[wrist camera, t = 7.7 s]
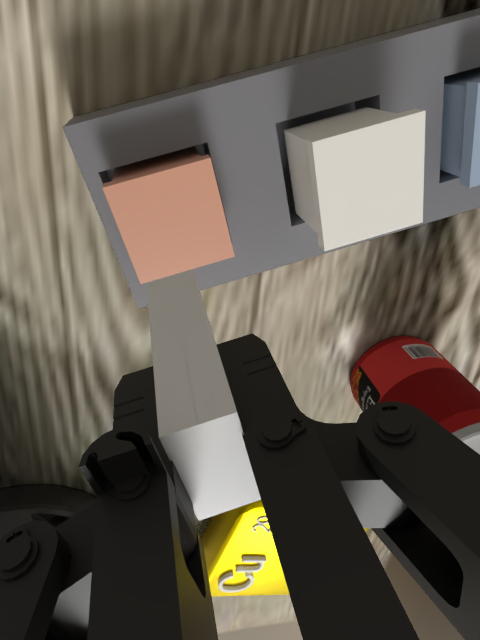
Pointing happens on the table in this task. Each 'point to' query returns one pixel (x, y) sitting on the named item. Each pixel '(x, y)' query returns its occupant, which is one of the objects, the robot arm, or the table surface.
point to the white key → (358, 174)
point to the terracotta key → (169, 213)
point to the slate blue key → (461, 127)
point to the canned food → (418, 385)
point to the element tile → (243, 554)
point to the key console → (280, 137)
